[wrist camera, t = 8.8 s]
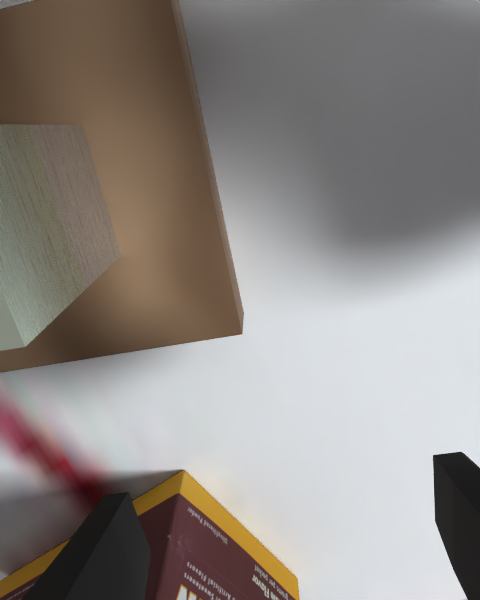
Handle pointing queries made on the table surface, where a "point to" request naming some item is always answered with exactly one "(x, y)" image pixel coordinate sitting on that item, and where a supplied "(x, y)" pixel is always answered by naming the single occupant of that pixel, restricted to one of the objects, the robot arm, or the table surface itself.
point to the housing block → (48, 227)
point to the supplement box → (189, 551)
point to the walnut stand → (126, 172)
